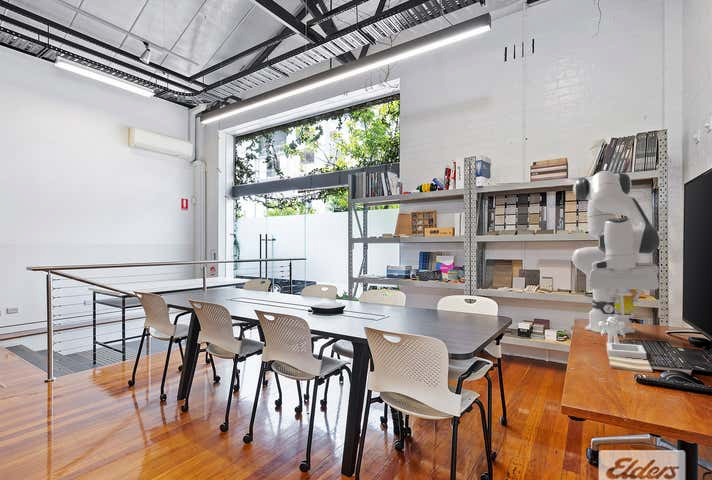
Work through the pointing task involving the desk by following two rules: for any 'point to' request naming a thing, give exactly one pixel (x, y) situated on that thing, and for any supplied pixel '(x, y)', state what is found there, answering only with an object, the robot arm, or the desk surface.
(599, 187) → the robot arm
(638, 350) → the white rectangular frame
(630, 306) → the supplement bottle
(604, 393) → the desk surface
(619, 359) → the birch board
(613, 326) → the hat wearing toy figure
